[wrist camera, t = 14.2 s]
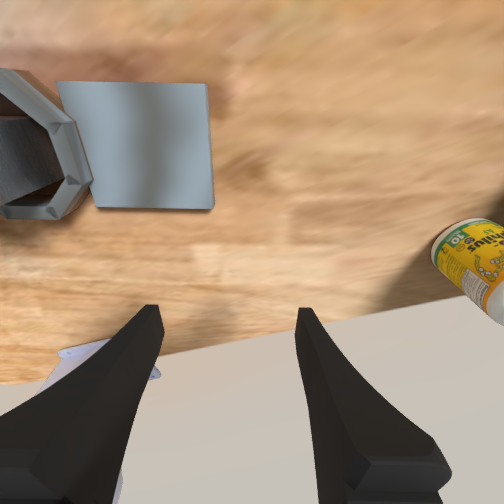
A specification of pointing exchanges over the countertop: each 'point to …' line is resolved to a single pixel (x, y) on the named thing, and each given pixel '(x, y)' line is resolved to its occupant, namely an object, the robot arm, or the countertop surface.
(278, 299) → the countertop surface
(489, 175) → the countertop surface
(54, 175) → the grey metal brick
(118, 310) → the countertop surface
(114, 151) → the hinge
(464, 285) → the supplement bottle
